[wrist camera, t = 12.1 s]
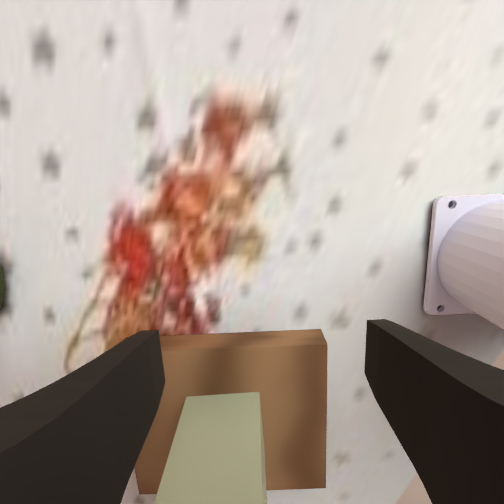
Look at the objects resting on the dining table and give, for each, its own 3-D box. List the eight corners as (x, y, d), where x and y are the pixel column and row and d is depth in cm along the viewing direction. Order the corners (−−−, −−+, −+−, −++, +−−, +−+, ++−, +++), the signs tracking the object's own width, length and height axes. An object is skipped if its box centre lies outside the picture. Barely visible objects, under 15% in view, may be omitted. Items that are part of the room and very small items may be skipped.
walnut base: (320, 329, 22) (327, 344, 20) (319, 463, 25) (325, 488, 23) (126, 337, 22) (114, 353, 20) (148, 469, 25) (139, 494, 23)
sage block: (259, 391, 21) (262, 522, 13) (264, 451, 22) (270, 602, 14) (186, 396, 21) (146, 528, 13) (195, 455, 22) (164, 608, 14)
